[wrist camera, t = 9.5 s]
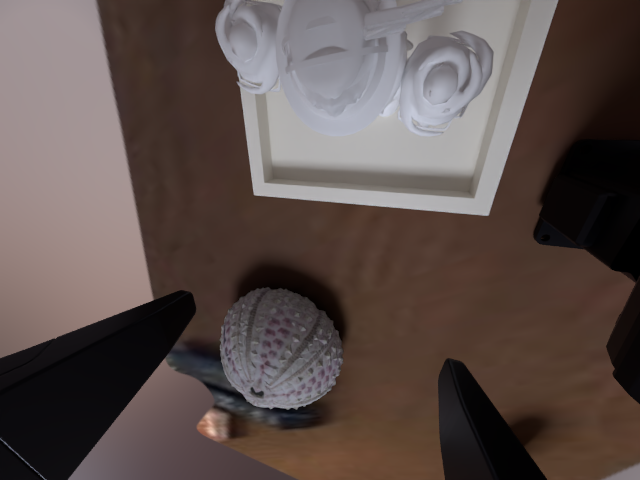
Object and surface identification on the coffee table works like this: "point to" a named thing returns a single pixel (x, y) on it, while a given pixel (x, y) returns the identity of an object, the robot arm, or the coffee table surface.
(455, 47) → the flower shoulder figurine
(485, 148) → the tray
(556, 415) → the coffee table surface
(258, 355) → the sea urchin shell
